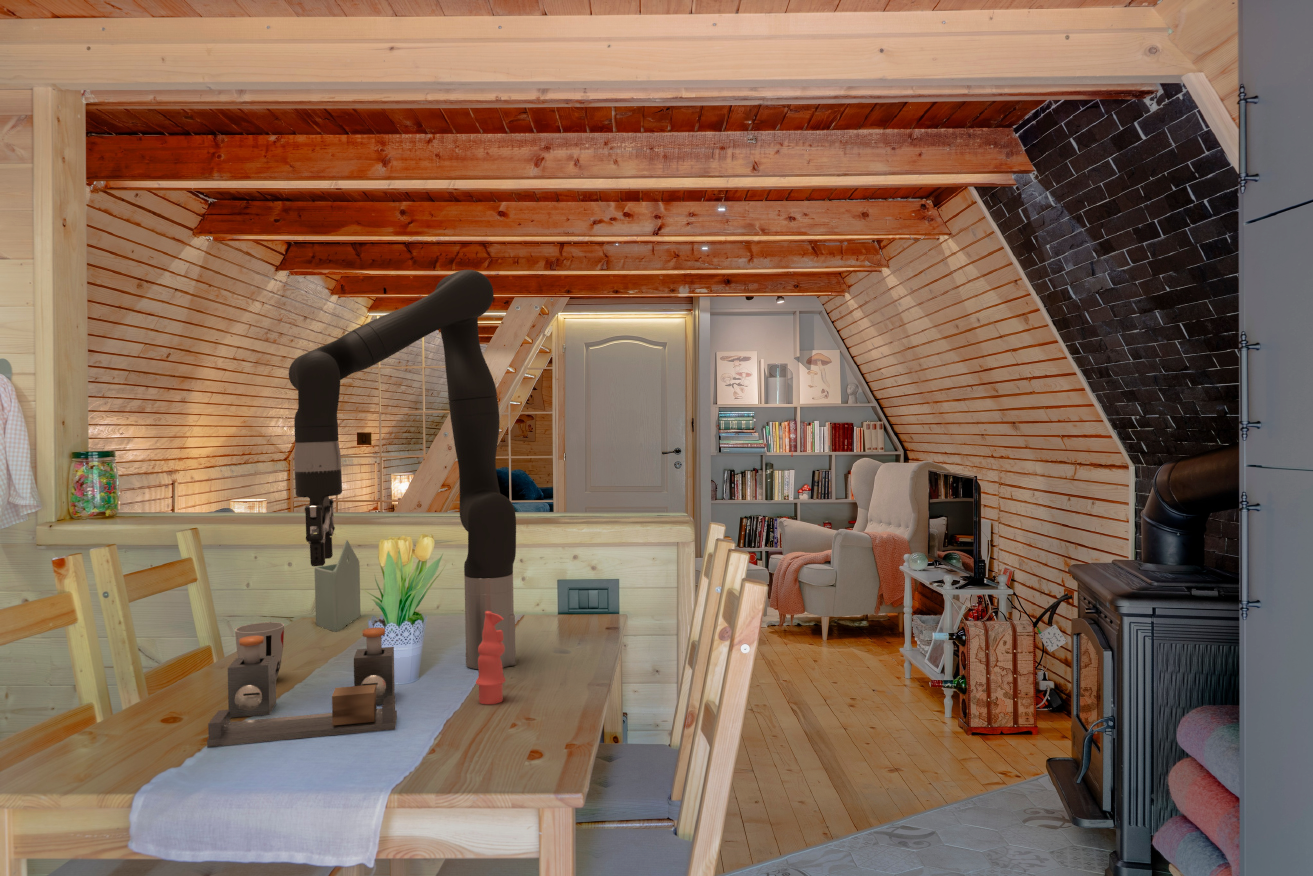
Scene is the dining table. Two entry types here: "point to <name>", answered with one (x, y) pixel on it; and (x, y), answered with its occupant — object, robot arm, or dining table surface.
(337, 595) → the planter
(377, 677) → the cabinet
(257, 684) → the cabinet
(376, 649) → the plunger
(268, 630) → the cup
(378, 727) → the rail
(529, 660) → the dining table surface
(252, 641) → the plunger
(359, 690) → the carriage
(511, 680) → the dining table surface
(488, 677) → the figurine
